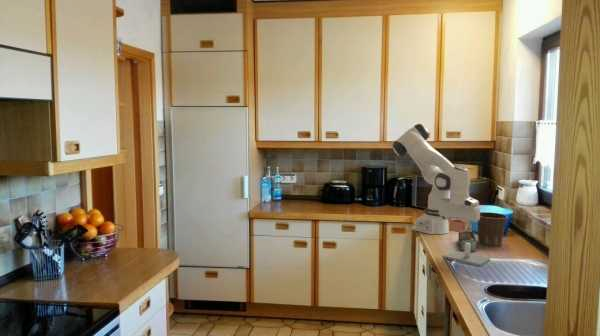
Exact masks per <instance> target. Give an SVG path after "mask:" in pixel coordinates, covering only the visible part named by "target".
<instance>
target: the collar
mask: <svg viewBox="0 0 600 336" xmlns="http://www.w3.org/2000/svg"><path fill="white" fill-rule="evenodd" d="M466 223H467V222H465V220H461V219H456V218H453V219H451V220H450V223H449V222H448V231H449V232H453V233H458V234H459V233H462V232H465V231H467V229H463V225H465V224H466Z"/></svg>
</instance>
